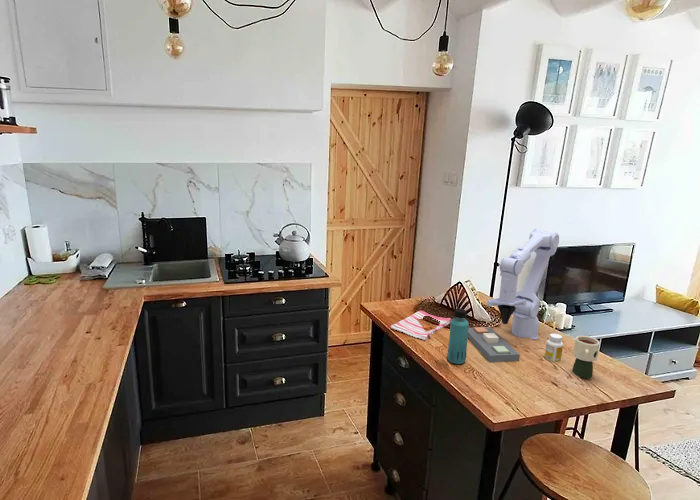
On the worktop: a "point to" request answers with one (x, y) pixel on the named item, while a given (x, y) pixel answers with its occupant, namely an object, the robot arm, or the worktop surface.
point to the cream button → (490, 338)
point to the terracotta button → (480, 330)
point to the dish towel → (418, 325)
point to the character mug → (585, 356)
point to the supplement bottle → (554, 348)
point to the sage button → (500, 350)
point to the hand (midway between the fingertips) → (504, 323)
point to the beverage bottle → (458, 337)
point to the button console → (488, 347)
